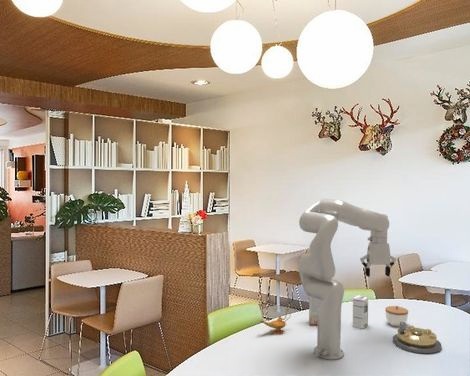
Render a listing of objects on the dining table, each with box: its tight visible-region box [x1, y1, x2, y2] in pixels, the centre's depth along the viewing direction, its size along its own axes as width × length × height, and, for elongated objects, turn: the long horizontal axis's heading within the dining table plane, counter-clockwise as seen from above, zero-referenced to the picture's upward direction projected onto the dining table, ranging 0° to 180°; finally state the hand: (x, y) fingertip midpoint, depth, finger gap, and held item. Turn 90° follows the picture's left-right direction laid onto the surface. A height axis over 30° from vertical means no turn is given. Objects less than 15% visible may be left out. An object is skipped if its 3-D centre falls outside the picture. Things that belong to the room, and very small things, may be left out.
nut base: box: [392, 333, 442, 355], centre depth 196 cm, size 20×20×2 cm
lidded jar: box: [385, 305, 409, 328], centre depth 220 cm, size 11×11×9 cm
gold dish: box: [397, 322, 438, 348], centre depth 195 cm, size 16×16×8 cm
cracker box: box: [308, 296, 323, 326], centre depth 219 cm, size 14×6×21 cm, turn 84°
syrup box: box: [352, 295, 369, 330], centre depth 217 cm, size 6×6×14 cm
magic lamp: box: [259, 306, 292, 335], centre depth 208 cm, size 7×18×11 cm, turn 122°
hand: (377, 275), depth 208 cm, fingers open, 9 cm apart
